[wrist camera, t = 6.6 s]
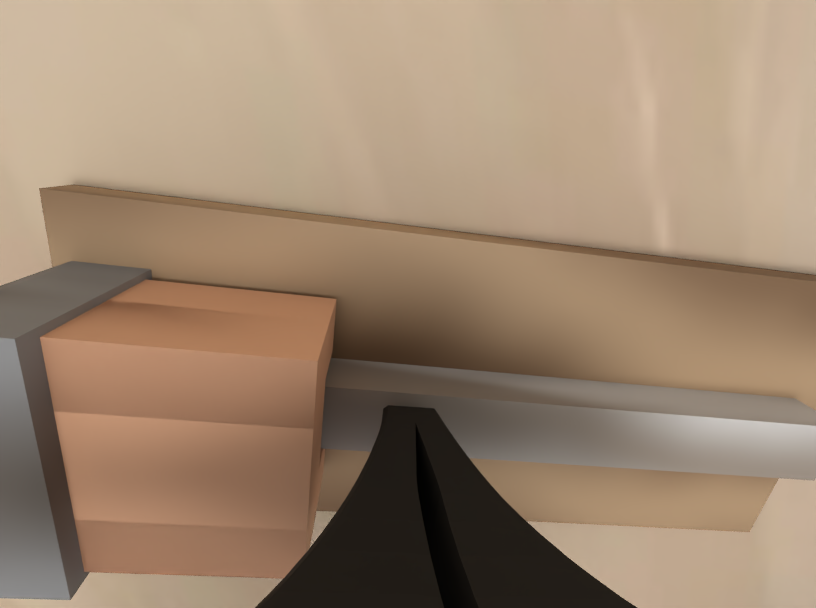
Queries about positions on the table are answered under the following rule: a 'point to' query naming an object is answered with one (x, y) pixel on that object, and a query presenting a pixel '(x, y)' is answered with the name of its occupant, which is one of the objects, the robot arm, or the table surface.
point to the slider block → (193, 427)
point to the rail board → (446, 362)
